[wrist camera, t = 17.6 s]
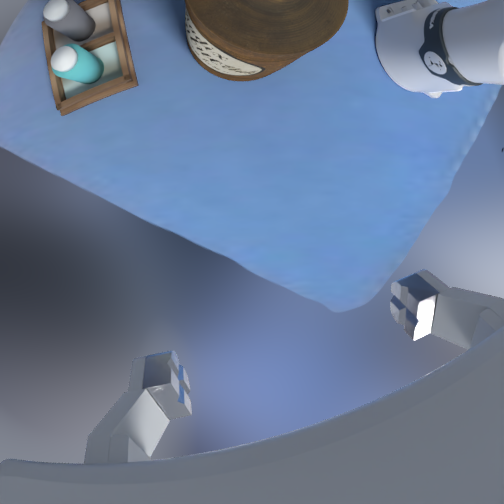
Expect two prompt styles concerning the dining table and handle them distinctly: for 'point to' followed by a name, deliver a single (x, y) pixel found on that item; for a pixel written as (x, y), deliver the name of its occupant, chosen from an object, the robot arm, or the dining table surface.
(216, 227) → the dining table surface
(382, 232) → the dining table surface
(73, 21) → the gray bottle
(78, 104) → the slot rack
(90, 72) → the teal plug
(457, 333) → the robot arm
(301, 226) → the dining table surface
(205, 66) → the wooden container
